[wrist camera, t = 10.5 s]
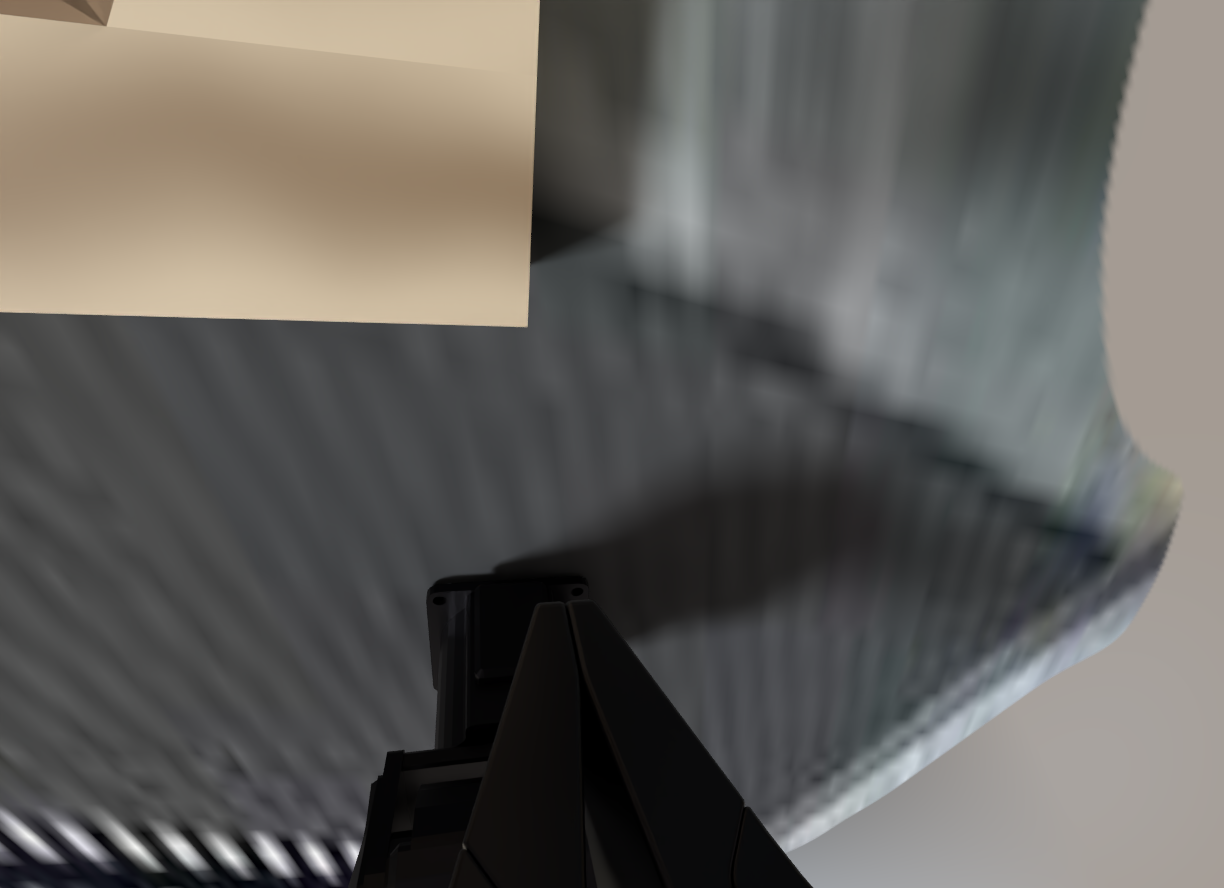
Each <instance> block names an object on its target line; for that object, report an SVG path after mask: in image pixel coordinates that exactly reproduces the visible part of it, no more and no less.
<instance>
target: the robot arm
mask: <svg viewBox="0 0 1224 888" xmlns="http://www.w3.org/2000/svg"><path fill="white" fill-rule="evenodd" d="M574 588H577V589H574ZM438 596H441V597H438ZM588 596H589V587H588V582H587V580H586V579H585V578H583V577H579V576H574V577H557V578H540V579H523V580H506V581H489V582H472V583H455V584H439V585H434V586H432V587H430V588H429V590H428V591H427V599H426V604H427V616H428V628H429V640H430V652H431V664H432V676H433V686H434V689H436V690H437V691H438V694H437V714H436V733H435V749H433V750H424V751H415V752H407V753H405V751H404V750H399V751H390V752H387V757H386V762H385V767H384V772H383V775H381V776H378V779H377V781H375V782H374V783H372V784H371V791H370V799H369V806H368V814H367V821H366V827H365V832H364V837H363V841H362V845H361V848H360V851H359V855H358V858H357V861H356V864H355V867H354V871H353V874H352V877H351V880H350V883H349V887H348V888H813V887H812V886H811V885H810V884H809V882H808V881H807V880H806V879H805V878H804V877H803V876H802V874H801V873H800V872H799V871H798V869H797V868H796V867H795V865H794V864H793V863H792V862H791V860H790V859H789V858H788V857H787V855H786V854H785V853H784V851H783V850H782V849H781V848H780V846H779V845H778V844H777V843H776V841H775V840H774V839H773V837H772V836H771V835H770V834H769V832H768V831H767V830H766V828H765V827H764V826H763V824H762V823H761V821H760V820H759V819H758V817H757V816H756V815H755V813H754V812H753V811H752V809H751V808H750V807H745V801H744V799H743V798H742V796H741V795H740V794H739V792H738V791H737V790H736V788H735V787H734V786H733V784H732V783H731V782H730V780H729V779H728V778H727V776H726V775H725V774H724V772H723V771H722V770H721V768H720V767H719V766H718V764H717V763H716V762H715V760H714V759H713V758H712V756H711V755H710V754H709V752H708V751H707V750H706V748H705V747H704V746H703V744H702V743H701V742H700V740H699V739H698V738H697V736H696V735H695V734H694V732H693V731H692V730H691V728H690V727H689V726H688V724H687V723H686V722H685V720H684V719H683V718H682V716H681V715H680V714H679V712H678V711H677V710H676V708H675V707H674V706H673V704H672V703H671V702H670V700H669V699H668V698H667V696H666V695H665V694H664V692H663V691H662V690H661V688H660V687H659V686H658V684H657V683H656V682H655V680H654V679H653V678H652V676H651V675H650V674H649V672H648V671H647V670H646V668H645V667H644V666H643V664H642V663H641V662H640V660H639V659H638V658H637V656H636V655H635V654H634V652H633V651H632V650H631V648H630V647H629V646H628V644H627V643H626V642H625V640H624V639H623V637H622V636H621V635H620V633H619V632H618V631H617V629H616V628H615V627H614V625H613V624H612V623H611V621H610V620H609V619H608V617H607V616H606V615H605V613H604V612H603V611H602V609H601V608H600V607H599V605H598V604H597V603H596V602H595V601H593V600H589V599H588ZM744 807H745V808H744Z"/></svg>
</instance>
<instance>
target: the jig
mask: <svg viewBox="0 0 1224 888" xmlns="http://www.w3.org/2000/svg"><path fill="white" fill-rule="evenodd" d="M539 6H540V0H0V312H19V313H54V314H90V315H125V316H160V317H196V318H231V319H266V320H301V321H337V322H372V323H407V324H443V325H478V326H513V327H527V326H528V299H529V273H530V246H531V220H532V193H533V166H534V140H535V113H536V86H537V60H538V33H539Z"/></svg>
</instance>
